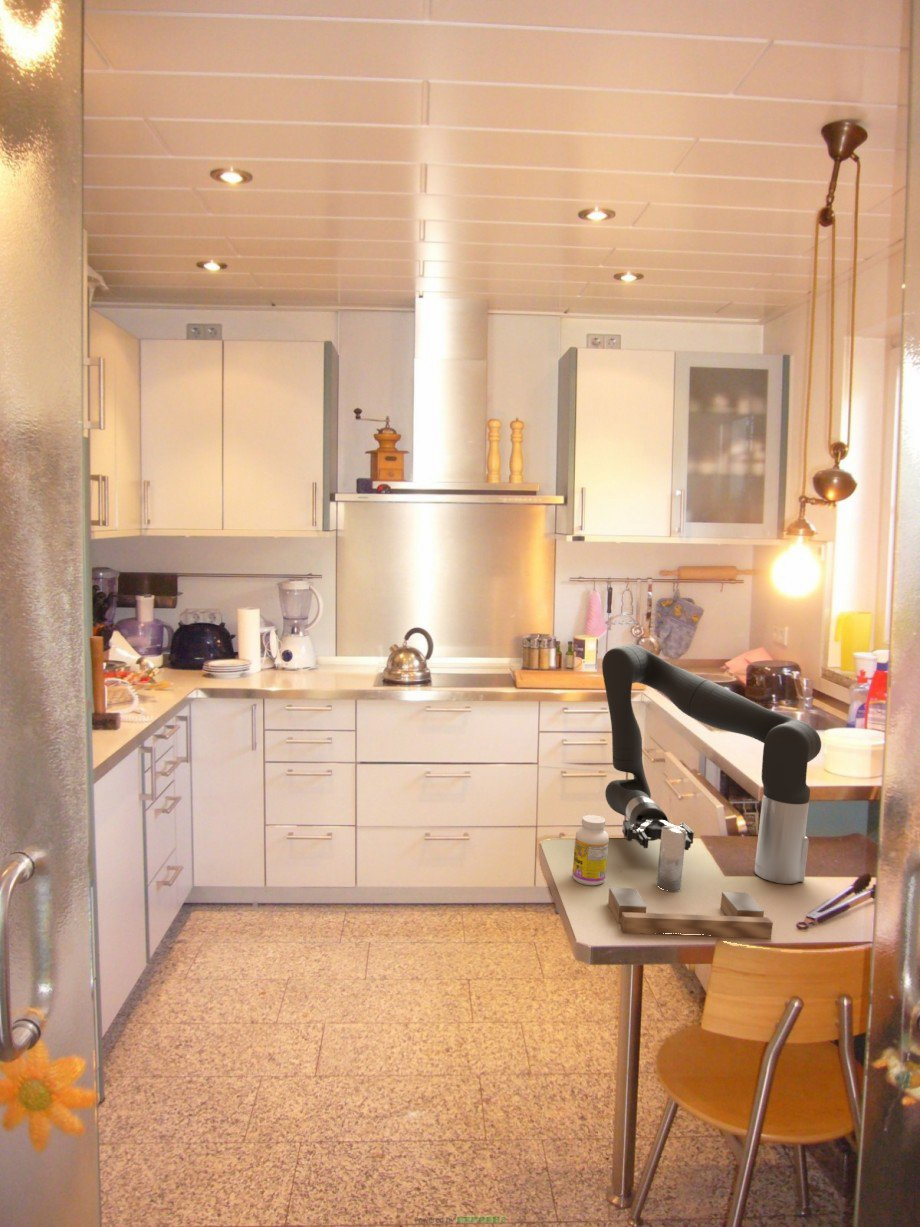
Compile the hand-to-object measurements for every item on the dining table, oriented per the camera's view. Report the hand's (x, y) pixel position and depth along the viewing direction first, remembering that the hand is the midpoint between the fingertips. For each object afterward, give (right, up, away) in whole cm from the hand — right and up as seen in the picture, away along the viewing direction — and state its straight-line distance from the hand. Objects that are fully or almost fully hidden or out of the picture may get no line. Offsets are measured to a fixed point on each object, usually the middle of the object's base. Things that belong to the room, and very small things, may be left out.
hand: (667, 844), depth 184 cm
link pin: (0, -8, -2) cm, 8 cm away
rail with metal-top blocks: (0, -10, -17) cm, 20 cm away
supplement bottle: (-16, -7, -2) cm, 18 cm away
